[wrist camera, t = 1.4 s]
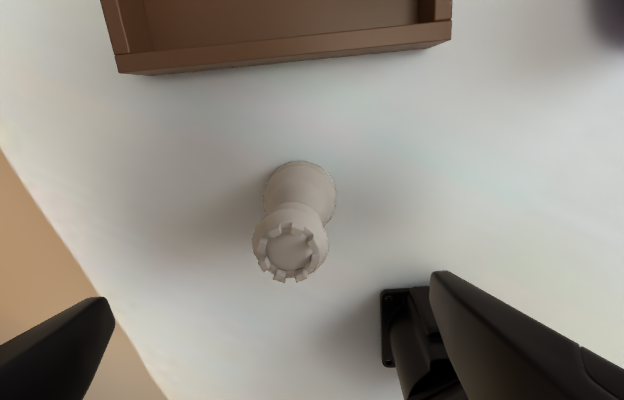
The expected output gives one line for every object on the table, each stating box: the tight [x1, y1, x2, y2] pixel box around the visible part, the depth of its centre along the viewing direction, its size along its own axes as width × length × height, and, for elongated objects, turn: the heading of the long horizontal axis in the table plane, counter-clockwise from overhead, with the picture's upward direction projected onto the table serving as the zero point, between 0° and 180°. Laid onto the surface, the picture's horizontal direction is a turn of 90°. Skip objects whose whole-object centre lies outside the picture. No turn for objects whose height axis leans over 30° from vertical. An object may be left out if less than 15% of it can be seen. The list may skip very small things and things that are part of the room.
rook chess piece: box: [252, 161, 336, 283], centre depth 17 cm, size 4×4×8 cm
